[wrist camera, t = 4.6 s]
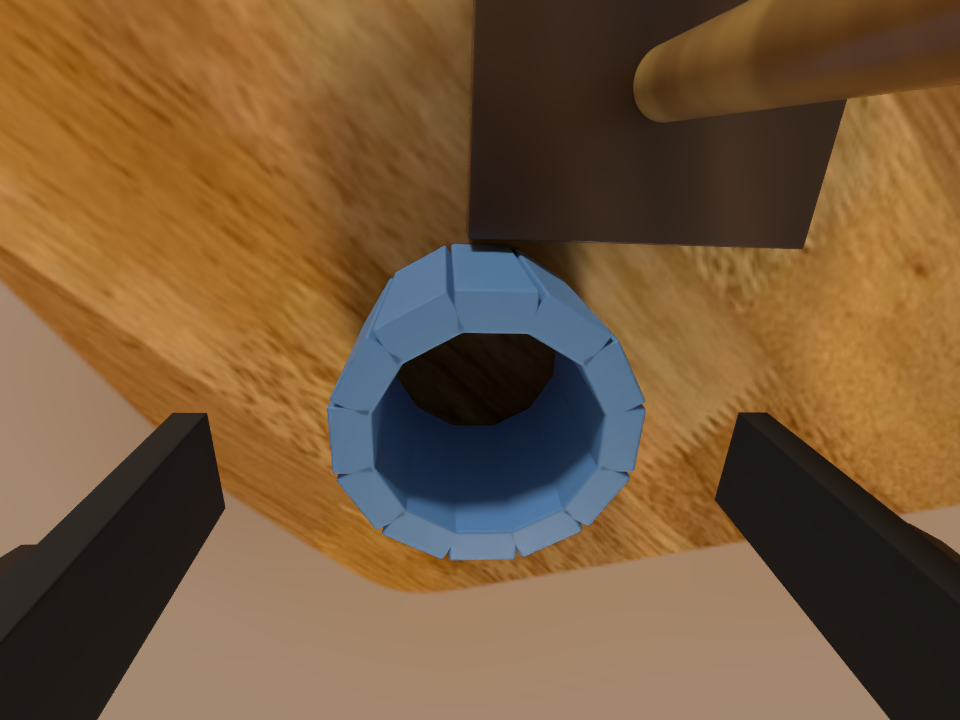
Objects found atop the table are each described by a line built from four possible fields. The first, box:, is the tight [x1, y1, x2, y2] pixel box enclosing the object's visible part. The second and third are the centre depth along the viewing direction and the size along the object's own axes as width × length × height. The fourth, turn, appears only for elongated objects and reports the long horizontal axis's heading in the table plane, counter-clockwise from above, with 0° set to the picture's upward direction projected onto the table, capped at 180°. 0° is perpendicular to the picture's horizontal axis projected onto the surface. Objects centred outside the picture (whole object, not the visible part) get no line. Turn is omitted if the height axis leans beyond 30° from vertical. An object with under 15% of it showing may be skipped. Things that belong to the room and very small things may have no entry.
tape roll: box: [327, 244, 645, 560], centre depth 16 cm, size 8×8×6 cm
